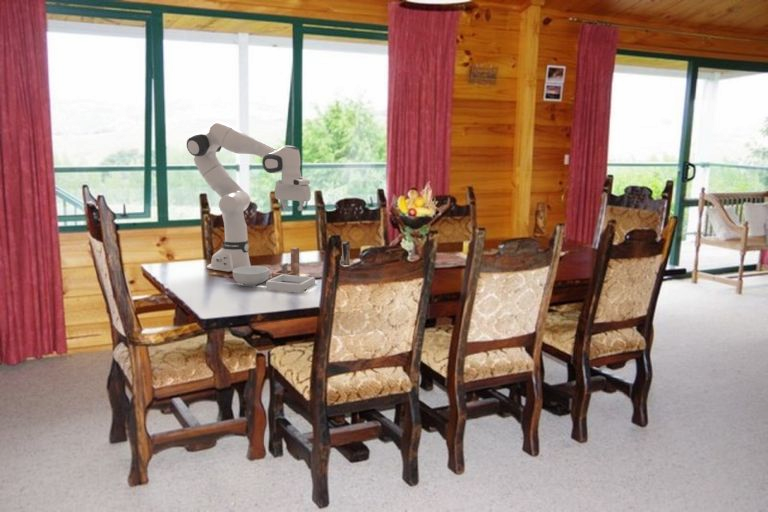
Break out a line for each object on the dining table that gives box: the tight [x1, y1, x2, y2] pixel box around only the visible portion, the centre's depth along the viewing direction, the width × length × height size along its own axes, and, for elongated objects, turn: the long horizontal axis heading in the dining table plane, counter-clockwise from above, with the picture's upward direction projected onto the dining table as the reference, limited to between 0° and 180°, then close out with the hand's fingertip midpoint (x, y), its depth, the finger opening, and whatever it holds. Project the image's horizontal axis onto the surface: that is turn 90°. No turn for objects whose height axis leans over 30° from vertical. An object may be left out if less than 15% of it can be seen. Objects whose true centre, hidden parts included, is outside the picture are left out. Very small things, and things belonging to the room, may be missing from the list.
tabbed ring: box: [271, 246, 301, 277], centre depth 335 cm, size 12×9×14 cm
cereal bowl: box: [232, 265, 270, 287], centre depth 323 cm, size 17×17×7 cm
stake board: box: [268, 262, 311, 279], centre depth 336 cm, size 16×13×7 cm
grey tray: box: [265, 274, 316, 294], centre depth 318 cm, size 17×15×4 cm
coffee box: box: [341, 240, 351, 265], centre depth 344 cm, size 9×6×16 cm
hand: (292, 209), depth 331 cm, fingers open, 8 cm apart
